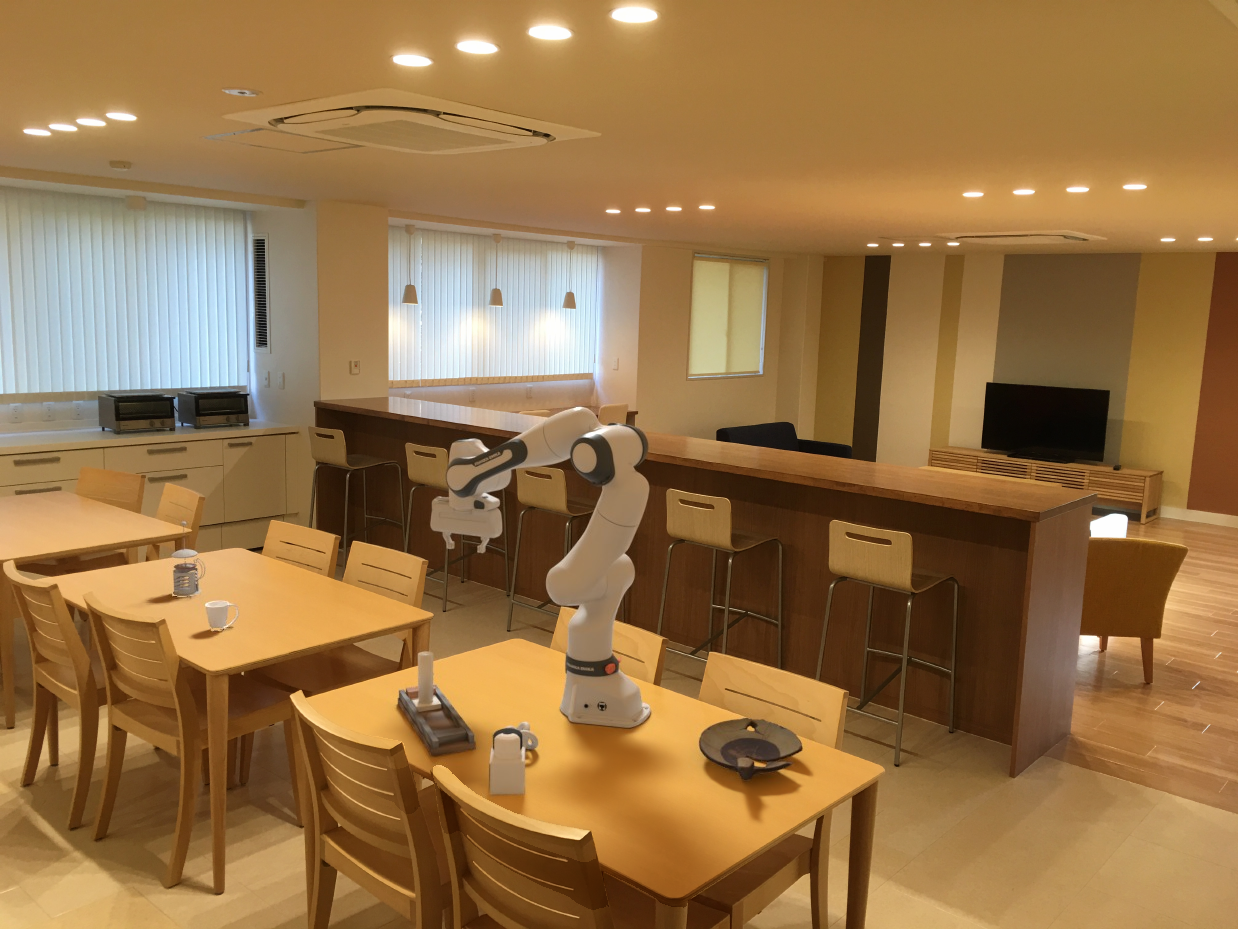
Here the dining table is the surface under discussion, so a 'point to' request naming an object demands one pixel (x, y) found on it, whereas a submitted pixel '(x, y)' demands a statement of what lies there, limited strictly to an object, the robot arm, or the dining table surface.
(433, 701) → the post
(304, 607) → the dining table surface
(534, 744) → the knot
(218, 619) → the cup
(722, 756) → the dark grey shallow dish
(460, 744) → the slot track
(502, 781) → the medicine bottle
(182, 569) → the french press
